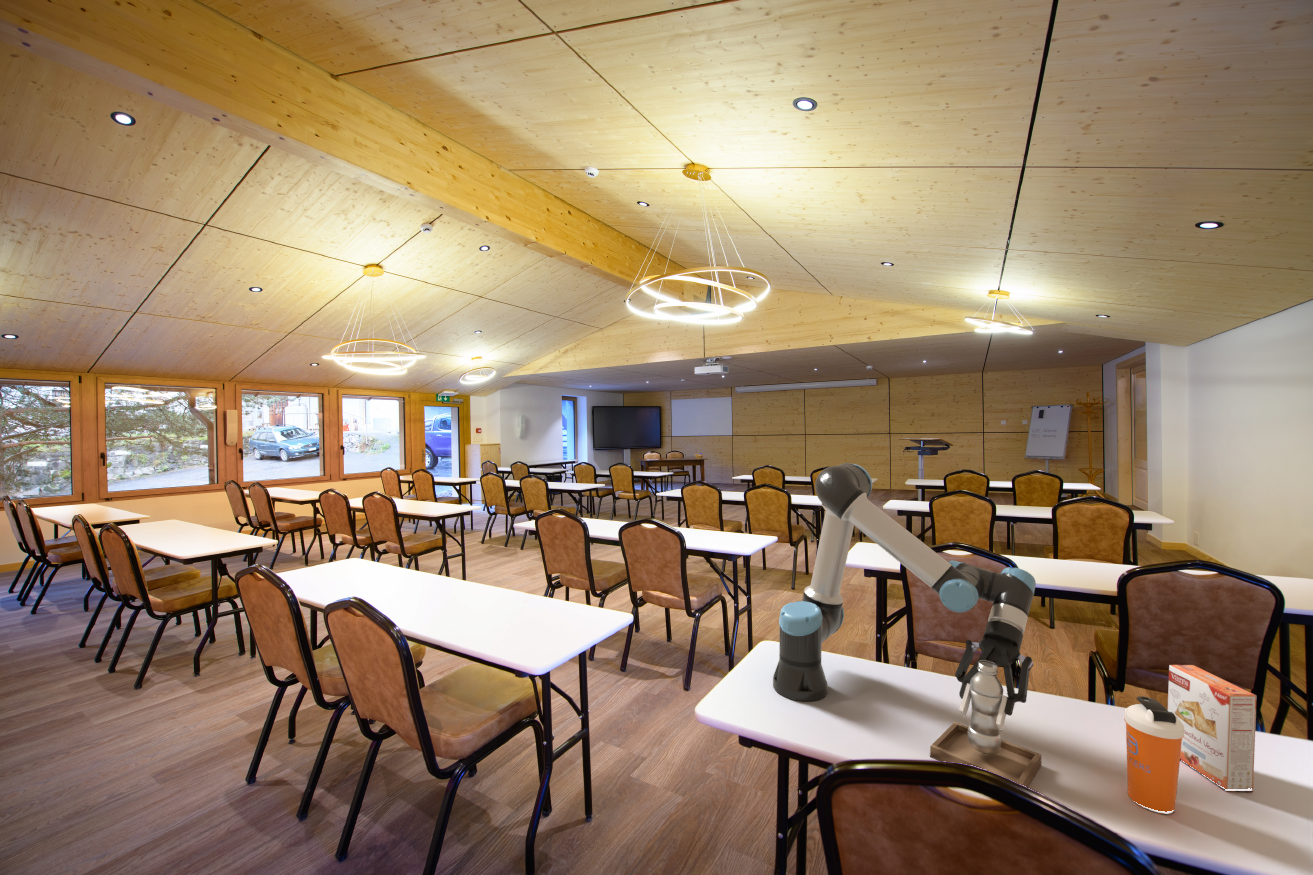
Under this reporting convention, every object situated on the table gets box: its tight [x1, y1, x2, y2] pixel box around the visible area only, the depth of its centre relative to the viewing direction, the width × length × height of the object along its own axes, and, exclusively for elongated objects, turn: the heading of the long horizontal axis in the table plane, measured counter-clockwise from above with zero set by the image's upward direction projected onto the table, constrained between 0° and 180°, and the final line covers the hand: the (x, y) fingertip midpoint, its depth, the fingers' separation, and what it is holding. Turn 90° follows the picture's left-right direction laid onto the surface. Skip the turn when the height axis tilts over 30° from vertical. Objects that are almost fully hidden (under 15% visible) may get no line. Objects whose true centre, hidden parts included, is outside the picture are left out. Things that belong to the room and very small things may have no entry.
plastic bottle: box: [967, 660, 1004, 755], centre depth 124 cm, size 6×7×20 cm
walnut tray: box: [929, 721, 1042, 788], centre depth 124 cm, size 18×15×2 cm
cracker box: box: [1167, 664, 1257, 790], centre depth 120 cm, size 14×6×21 cm, turn 178°
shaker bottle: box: [1123, 695, 1184, 812], centre depth 110 cm, size 9×9×20 cm
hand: (980, 719), depth 121 cm, fingers open, 7 cm apart
